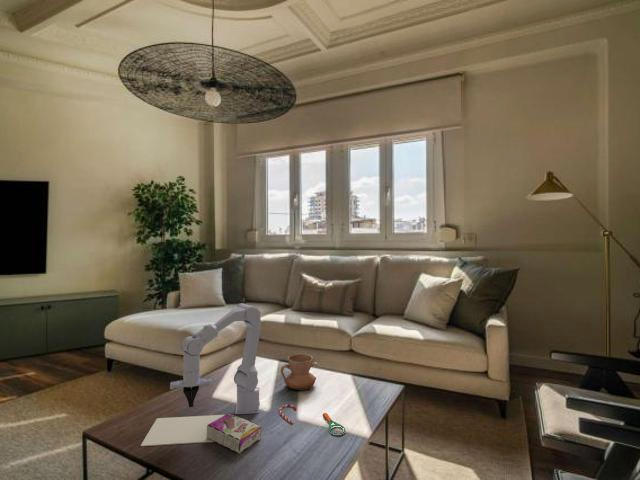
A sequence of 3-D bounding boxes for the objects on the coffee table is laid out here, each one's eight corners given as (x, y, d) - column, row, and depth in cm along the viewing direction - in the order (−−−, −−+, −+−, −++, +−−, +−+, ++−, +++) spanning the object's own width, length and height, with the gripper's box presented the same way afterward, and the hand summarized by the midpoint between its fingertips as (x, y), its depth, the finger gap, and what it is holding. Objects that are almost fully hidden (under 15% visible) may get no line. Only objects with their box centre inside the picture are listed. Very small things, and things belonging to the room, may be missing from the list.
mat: (224, 415, 144) (224, 414, 144) (218, 441, 126) (218, 440, 126) (157, 419, 140) (157, 418, 140) (140, 446, 122) (140, 445, 122)
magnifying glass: (348, 435, 132) (348, 430, 132) (333, 438, 130) (333, 434, 130) (331, 415, 146) (331, 411, 146) (317, 418, 144) (317, 414, 144)
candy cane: (283, 423, 137) (276, 405, 151) (283, 426, 137) (276, 408, 151) (303, 420, 139) (294, 402, 154) (303, 424, 139) (294, 405, 154)
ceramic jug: (315, 379, 180) (315, 351, 180) (319, 392, 166) (319, 361, 166) (280, 381, 178) (280, 353, 178) (280, 394, 164) (280, 363, 163)
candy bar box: (229, 411, 137) (262, 425, 128) (228, 424, 137) (261, 439, 128) (206, 424, 127) (240, 440, 118) (205, 438, 127) (239, 454, 119)
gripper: (212, 364, 137) (212, 399, 138) (172, 367, 134) (172, 402, 134) (211, 371, 131) (211, 407, 131) (169, 374, 127) (168, 412, 127)
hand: (191, 405), depth 132 cm, fingers closed
